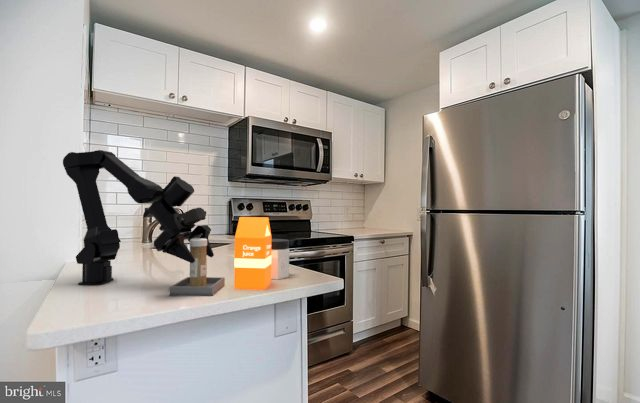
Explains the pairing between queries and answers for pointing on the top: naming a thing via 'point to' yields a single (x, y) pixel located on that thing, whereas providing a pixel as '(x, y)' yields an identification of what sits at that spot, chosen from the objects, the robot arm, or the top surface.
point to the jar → (279, 258)
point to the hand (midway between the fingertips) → (203, 259)
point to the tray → (186, 290)
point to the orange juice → (252, 253)
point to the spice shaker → (198, 262)
